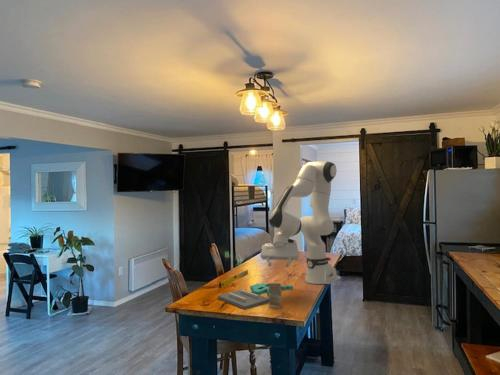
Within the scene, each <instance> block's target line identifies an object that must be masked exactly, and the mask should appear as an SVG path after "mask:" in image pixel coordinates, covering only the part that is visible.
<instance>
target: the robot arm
mask: <svg viewBox="0 0 500 375" xmlns="http://www.w3.org/2000/svg"><path fill="white" fill-rule="evenodd" d="M336 175H337V167H336V164H335V163H333V162H331V161H322V160H321V161H320V160H319V161H318V160H317V161H304V162H303V163H302V164H301V165H300V167H299V172H298V174H297V176H296V178H295V181H294V183H292V184H289V185H288V186H287V187H286V188H285V189H284V191H283V193H282V194H281V196H280V198H279V200H278V202H276V205H275V206H274V208H273V209H272V211H271V212H270V214H269V216H268V223H269V225H270V226H271V227H273V228H274V231H273V233H274V235H273V239H272V243H264V244H262V246H261V250H260V258H261V259H262V260H263V261H264V260H266V262H267V266H268V267H272V261H273V260H274V261H280V260H281V261H286V262H285V268H286V267H290V264H291V263H292V261H298V260H299V258H300V257H299V256H300V254H299V249H298V248H299V247H298V244H297V240H295V239H292V238H290V237H294V236H296V235H298V234H299V233H300V232H301V233H302V235H303V237H304V241H305V245H306V265H307V266H306V272H305V277H304V281H305V282H306V283H308V284H313V285H330V284H333V283H335V282H338V281H339V280H341V279H342V277H341V276H340V275H337V269H336V268H335V267H334V266H332V264H330V263H329V261H332V257H329V256H327V251H326V247H327V246H326V244H325V242H324V241H323V240H322V238H321V236H328V235H330V234H332V233H333V231H334V228H335V227H334V226H335V225H334V222H333V220H332V219H331V217H330V212H329V205H330V199H331V198H330V197H331V193H332V192H331V191H332V181H333V180H334V178H335V177H336ZM308 196H310V200H309V206H310V207H311V209H312V213H313V214H312V215H304V216H302V217H300V218H299V217H296V216H295V215H292V214H290V213H288V212H286V211H285V208H286V206H287V204H288V203H289V201H290V199H291V198H294V197H295V198H306V197H308ZM326 256H327V257H326Z"/></svg>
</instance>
